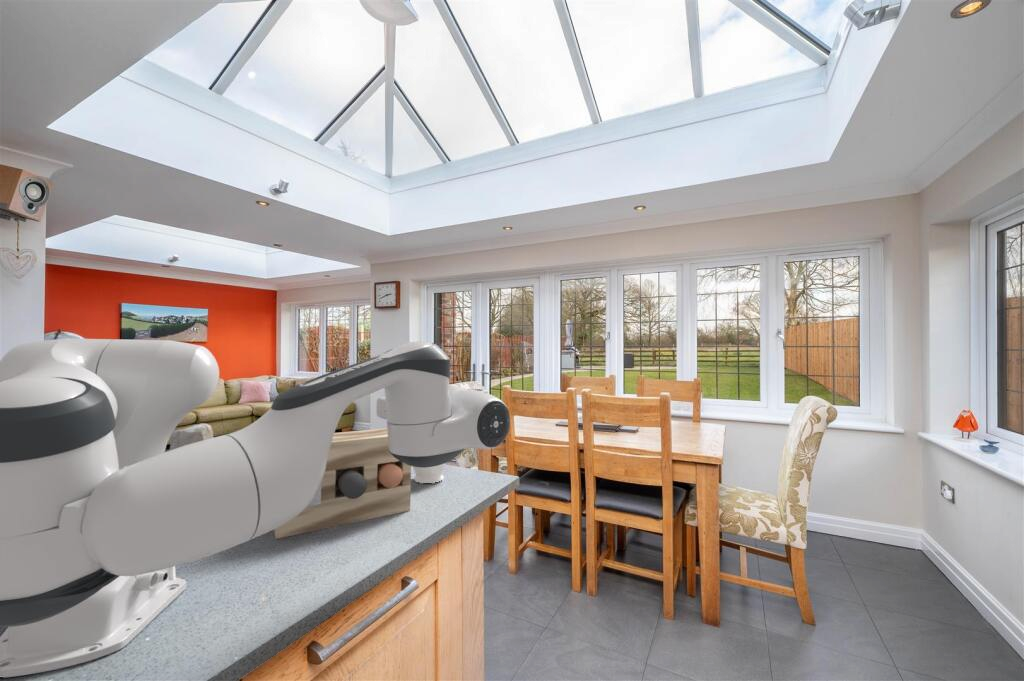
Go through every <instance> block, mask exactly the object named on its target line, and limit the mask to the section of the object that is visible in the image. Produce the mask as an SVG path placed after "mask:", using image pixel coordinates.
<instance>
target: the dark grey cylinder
mask: <svg viewBox="0 0 1024 681" xmlns="http://www.w3.org/2000/svg"><path fill="white" fill-rule="evenodd" d="M337 487H338V488H339V490H340V491H341V492H342V493H343V494H344V495H345V496H346V497H347V498H350V499H356V498H358V497H360V496H362V495H363V494H364V492H365V491H366V488H367V481H366V479H365V478H364V477H363V476H362V475H361V474H360V473H359V472H357V471H356V470H354V469H347V470H345V471H343V472H342V473H341V474H340V475H339V476H338V479H337Z"/></svg>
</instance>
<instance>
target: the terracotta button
mask: <svg viewBox="0 0 1024 681" xmlns="http://www.w3.org/2000/svg"><path fill="white" fill-rule="evenodd" d="M402 478H403V472H402V470H401V468H400V467H398V466H396V465H395V464H393V463H392V462H389V463H382V464H378V468H377V480H378V481H379V482H380V483H381V484H383V485H384V486H385V487H387V488H394V487H396V486H397V485H399V483H400V482H401V480H402Z"/></svg>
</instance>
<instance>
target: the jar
mask: <svg viewBox="0 0 1024 681" xmlns="http://www.w3.org/2000/svg"><path fill="white" fill-rule="evenodd" d="M446 464H447V463H444V464H441V465H438V466H433V467H425V468H422V467H414V466H412V469H413V471H414V474H415V476H414V477H413V480H414V481H415V482H416V483H418V482H419V484H423V483H432V484H436V483H435V482H438V483H440V482H442V481H443V480H444V478H445V477H444V475H443V474H444V473H443V472H444V470H445V468H446ZM441 480H442V481H441ZM439 481H440V482H439Z"/></svg>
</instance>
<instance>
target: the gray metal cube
mask: <svg viewBox="0 0 1024 681" xmlns="http://www.w3.org/2000/svg"><path fill="white" fill-rule="evenodd" d="M317 504H321V484H320V486H319V488H318V490H317V492H316V494H315V495H314V497H313V499H312V500H311V501H310V503H309V504H308V506H312V505H317Z"/></svg>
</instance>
